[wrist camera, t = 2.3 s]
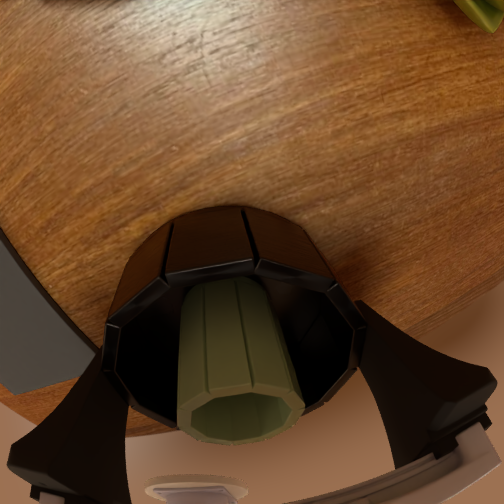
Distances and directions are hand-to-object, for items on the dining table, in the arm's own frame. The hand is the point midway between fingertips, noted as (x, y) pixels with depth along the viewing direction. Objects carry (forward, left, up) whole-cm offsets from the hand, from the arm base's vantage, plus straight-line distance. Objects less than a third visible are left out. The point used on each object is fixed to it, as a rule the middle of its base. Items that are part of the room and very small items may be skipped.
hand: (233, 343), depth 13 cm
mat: (+28, +23, -3) cm, 37 cm away
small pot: (0, 0, -2) cm, 2 cm away
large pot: (0, 0, -3) cm, 3 cm away
